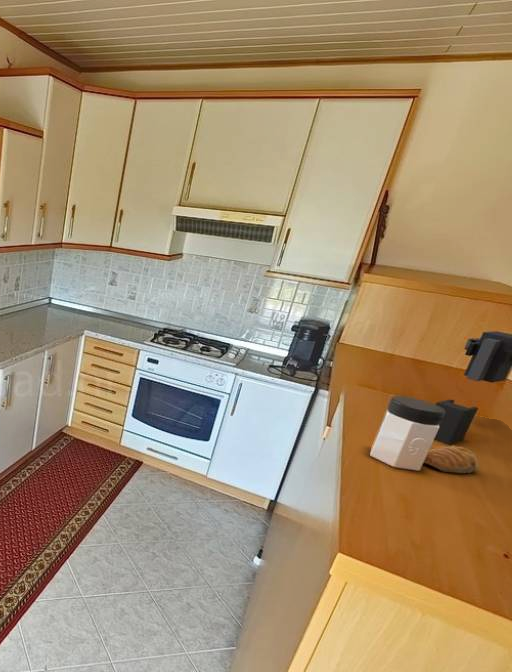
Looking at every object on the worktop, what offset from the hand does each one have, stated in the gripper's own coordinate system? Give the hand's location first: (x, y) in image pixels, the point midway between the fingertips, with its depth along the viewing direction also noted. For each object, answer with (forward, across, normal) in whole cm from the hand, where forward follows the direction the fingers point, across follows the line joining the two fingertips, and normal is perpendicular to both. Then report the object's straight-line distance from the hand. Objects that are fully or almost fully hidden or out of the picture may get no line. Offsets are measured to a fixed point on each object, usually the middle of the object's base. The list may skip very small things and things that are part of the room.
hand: (486, 353), depth 105 cm
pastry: (+21, -8, -20) cm, 30 cm away
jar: (+30, -2, -20) cm, 36 cm away
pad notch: (+3, 0, -20) cm, 20 cm away
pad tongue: (-4, 0, -6) cm, 7 cm away
